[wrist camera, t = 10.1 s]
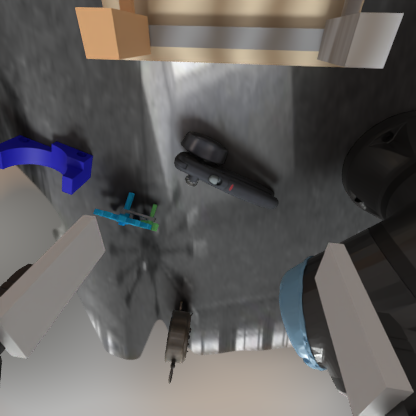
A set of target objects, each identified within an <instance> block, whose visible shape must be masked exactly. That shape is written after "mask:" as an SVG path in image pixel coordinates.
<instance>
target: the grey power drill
mask: <svg viewBox="0 0 416 416" xmlns="http://www.w3.org/2000/svg"><path fill="white" fill-rule="evenodd" d="M182 303H183V301H180V306H179V310H178V311H177V310H174V311H173V313H172V317H171V321H170V326H169V332H168V338H167V346H166V352H165V361H166V362H172V363H171V371H170V375H169V383H170V382H171V379H172V374H173V368H174V367H175V363H182V362H183V361H184V360H185V358H186V352H188V351H187V345H189V343H188V339H189V338H190V336H189V333H191V328H190V322H191V316H192V315H193V313H192V314H191V315H190V313H189V312H185V311H182ZM170 377H171V378H170Z"/></svg>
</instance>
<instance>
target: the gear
mask: <svg viewBox="0 0 416 416" xmlns="http://www.w3.org/2000/svg"><path fill="white" fill-rule="evenodd" d="M134 195H135V194H134V193H131V192H129V195H128V197H127V200H126V203H125V206H124V209H123V208H122V210H121V213H120V215H116V214H113V213H111V212H107V211H102V210H99V209H95V210H94V213H93V214H96V215H99V216H103V217H106V218H109V219H113V220H117V222H119V225H123V226H125V224H131V225H134V226H138V227H142V228H145V229H150V230H153V231H157V228H158V225H159V224H156V223H153V222H155V220H156V218H154V214H155V211H156V208H157V205H155V204H153V207H152V210H151V213H150V216H147V215H143V214H140V213H137V212H133V211H130V208H131V204H132V201H133V198H134ZM130 214H133V215H137V216H140V217H144V218H146V220H147V221H145V220H141V221H138V220H135V219H131V218H129V216H130ZM151 227H152V228H151Z"/></svg>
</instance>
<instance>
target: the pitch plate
mask: <svg viewBox="0 0 416 416" xmlns="http://www.w3.org/2000/svg"><path fill="white" fill-rule="evenodd" d="M363 3H364V0H134V7H135V14H140V15H144V16H147V17H148V27H149V38H150V48H151V54H149V55H144V56H138V57H132V58H126V59H121V60H146V61H175V62H204V63H233V64H262V65H290V66H319V67H352V68H381V69H383V67H384V65H385V62H386V59H387V57H388V54H389V51H390V49H391V46H392V44H393V41H394V38H395V36H396V33H397V30H398V28H399V25H400V22H401V20H402V17H403V15H404V13H362V12H361V9H362V6H363ZM102 4H103V8H113V9H118V10H120V6H119V0H102Z"/></svg>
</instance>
